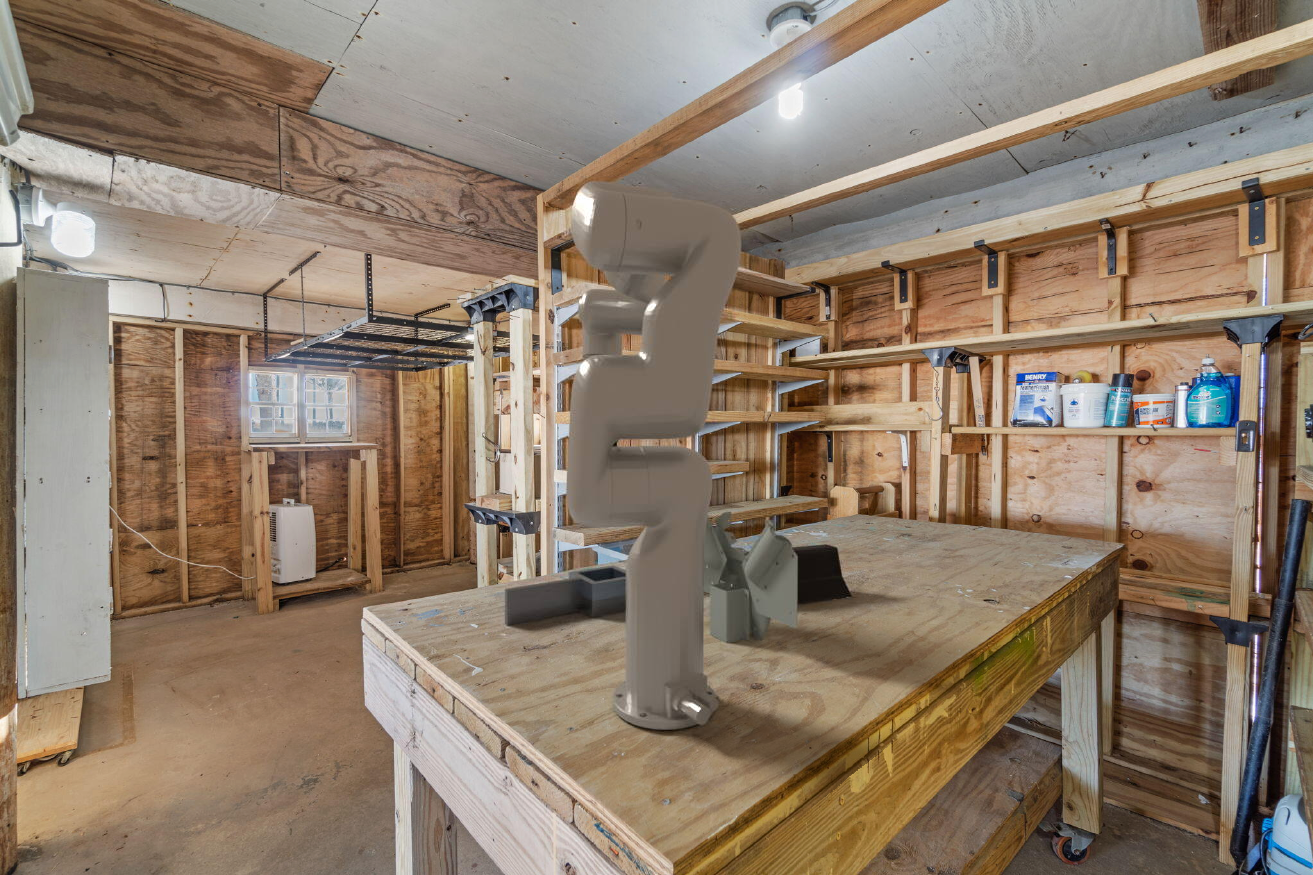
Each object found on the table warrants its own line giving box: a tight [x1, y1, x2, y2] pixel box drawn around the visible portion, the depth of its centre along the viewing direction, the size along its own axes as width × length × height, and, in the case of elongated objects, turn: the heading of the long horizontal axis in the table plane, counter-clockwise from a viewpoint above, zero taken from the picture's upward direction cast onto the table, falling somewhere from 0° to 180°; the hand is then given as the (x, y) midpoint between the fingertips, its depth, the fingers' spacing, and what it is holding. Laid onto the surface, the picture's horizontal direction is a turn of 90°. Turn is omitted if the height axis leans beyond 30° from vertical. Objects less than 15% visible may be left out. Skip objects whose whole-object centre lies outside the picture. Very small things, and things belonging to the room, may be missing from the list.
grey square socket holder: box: [504, 564, 626, 626], centre depth 107 cm, size 10×38×6 cm, turn 124°
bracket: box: [704, 511, 798, 644], centre depth 92 cm, size 28×7×20 cm, turn 33°
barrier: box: [744, 543, 853, 606], centre depth 112 cm, size 24×9×10 cm, turn 112°
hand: (602, 462), depth 106 cm, fingers closed on bolt, 4 cm apart
